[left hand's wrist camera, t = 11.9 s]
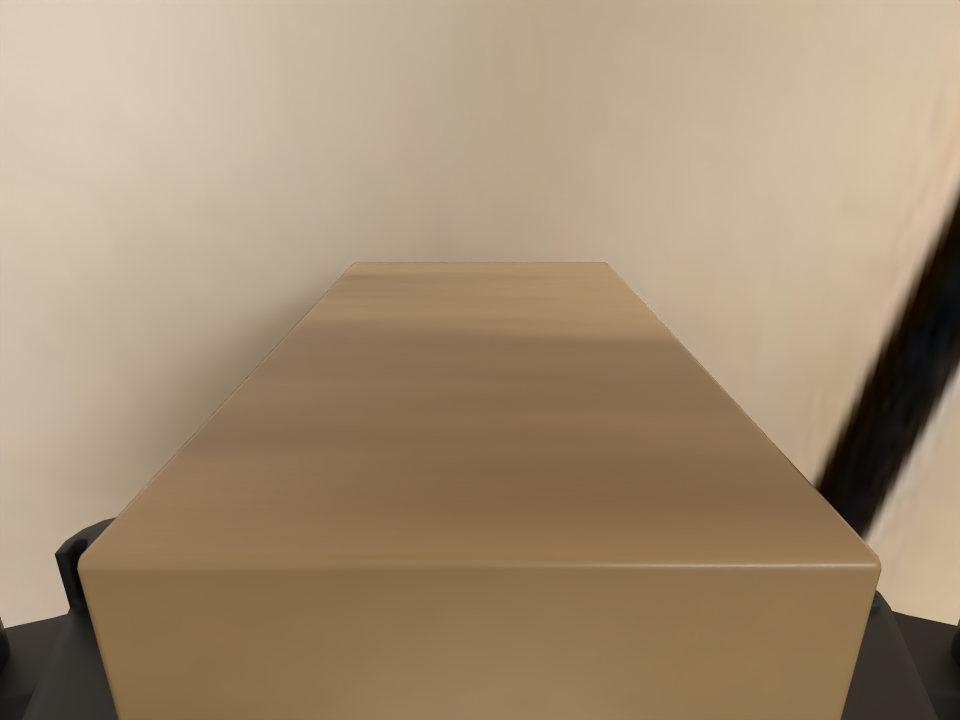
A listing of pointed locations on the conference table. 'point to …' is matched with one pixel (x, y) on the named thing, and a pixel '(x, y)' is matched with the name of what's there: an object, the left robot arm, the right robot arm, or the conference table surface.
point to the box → (479, 525)
